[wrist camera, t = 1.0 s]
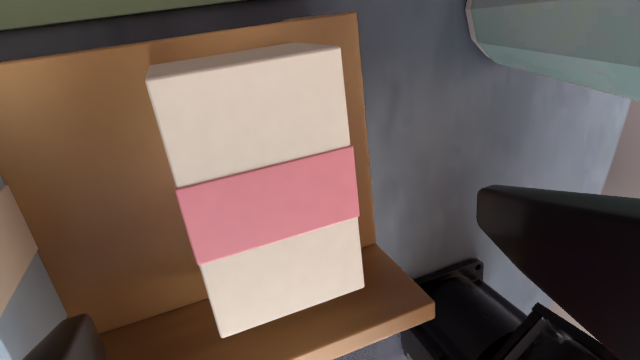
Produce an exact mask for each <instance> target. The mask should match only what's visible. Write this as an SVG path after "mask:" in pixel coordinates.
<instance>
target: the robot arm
mask: <svg viewBox="0 0 640 360" xmlns="http://www.w3.org/2000/svg"><path fill="white" fill-rule="evenodd" d="M476 218H477V223H478V225H479V227H480V228H481V229H482V230H483V231H484V232H485V233H486V235H487V236H488V237H489V238H490V239H491V240H492V241H493V242H494V243H495V244H496V245H497V246H498V247H499V249H500V250H501V251H502V252H503V253H504V254H505V255H506V256H507V257H508V258H509V259H510V260H511V261H512V263H513V264H514V265H515V266H516V267H517V268H518V269H519V270H520V271H521V272H522V273H523V274H525V275H526V276H527V277H528V278H529V279H530V280H531V281H532V282H533V283H534V284H536V285H537V286H538V287H539V288H540V289H541V290H542V291H543V292H545V293H546V294H547V295H548V296H549V297H550V298H551V299H552V300H553V301H555V302H556V303H557V304H558V305H559V306H560V307H562V309H564V310H565V311H566V312H567V313H568V314H569V315H570V316H571V317H572V318H574V319H575V320H576V321H577V322H578V323H579V324H580V325H581V326H583V327H584V328H585V329H586V330H587V331H588V332H589V333H590V334H592V335H593V336H594V337H595V338H596V339H597V340H598V341H599V342H598V341H597V340H595V339H594V338H592V337H591V336H589V335H588V334H586V333H585V332H583V331H581V330H580V329H578V328H577V327H575V326H574V325H572V324H571V323H569V322H568V321H566V320H564V319H563V318H561V317H560V316H558V315H557V314H555V313H553V312H552V311H551V310H549V309H547V308H546V307H544V306H543V305H541V304H540V303H538V302H537V303H536V304H535V306H534V307H533V308H532V312H531V313H530V314H529V315H528V316H527V315H526V314H524V313H523V312H522V311H520V310H519V309H518V308H517V307H515V306H514V305H513V304H511V303H510V302H509V301H508V300H506V299H505V298H504V297H502V296H501V295H500V294H499V293H497V292H496V291H495V290H493V289H492V288H491V287H490V286H488V285H487V284H486V283H484V282H483V266H484V265H483V262H482V261H480V260H479V259H477V258H475V259H472V260H469V261H467V262H464V263H461V264H458V265H456V266H453V267H450V268H448V269H445V270H442V271H439V272H437V273H434V274H431V275H429V276H426V277H423V278H420V279H418V280H415V281H414V282H415V283H416V284H417V285H418V286H419V287H420V288H421V289H422V290H423V291H424V292H425V293H426V294H427V295H428V296H429V297H430V298H431V299H432V300H433V301H434V302H435V318H434V319H431V320H429V321H427V322H424V323H422V324H419V325H417V326H414V327H412V328H409V329H407V330H404V331H402V332H401V341H402V346H403V347H404V355H405V356H406V357H407V359H409V360H640V199H639V198H628V197H618V196H607V195H597V194H587V193H577V192H566V191H556V190H545V189H535V188H525V187H514V186H504V185H491V186H487V187H484V188H481V189H480V190H479V191H478V193H477V215H476ZM601 343H602V344H601ZM22 360H106V352H105V348H104V345H103V342H102V340H101V338H100V336H99V334H98V331H97V329H96V327H95V325H94V322H93V320H92V318H91V317H90V316H89V315H88V314H86V313H83V314H80V315H76V316H73V317H70V318H67V319H64V320H62V321H61V322H60V323H59V324H58V325H57V326H56V327H55V328H54V329H53V330H52V331H51V332H50V333H49V334H48V335H47V336H46V337H45V338H44V339H43V340H42V341H41V342H39V343H38V344H37V345H36V346H35V347H34V348H33V349H32V350H31V351H30V352H29V353H28V354H27V355H26V356H25V357H24V358H23V359H22Z"/></svg>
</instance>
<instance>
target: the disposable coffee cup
mask: <svg viewBox="0 0 640 360" xmlns="http://www.w3.org/2000/svg"><path fill="white" fill-rule="evenodd" d="M465 11H466V16H467V21H468V26H469V31H470V36H471V39H472V40H473V42H474V43H475V44H476V45H477V46H478V47H479V48H480V50H481V51H482V52H483V53H484V54H485V55H486V56H487V57H489V58H491V59H492V61H493V62H494V63H497V64H501V65H505V66H508V67H512V68H516V69H520V70H523V71H527V72H531V73H535V74H538V75H542V76H546V77H550V78H553V79H557V80H561V81H565V82H568V83H572V84H576V85H580V86H583V87H587V88H591V89H595V90H598V91H602V92H606V93H610V94H613V95H617V96H621V97H625V98H628V99H632V100H636V101H640V0H467V4H466V9H465Z"/></svg>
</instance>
